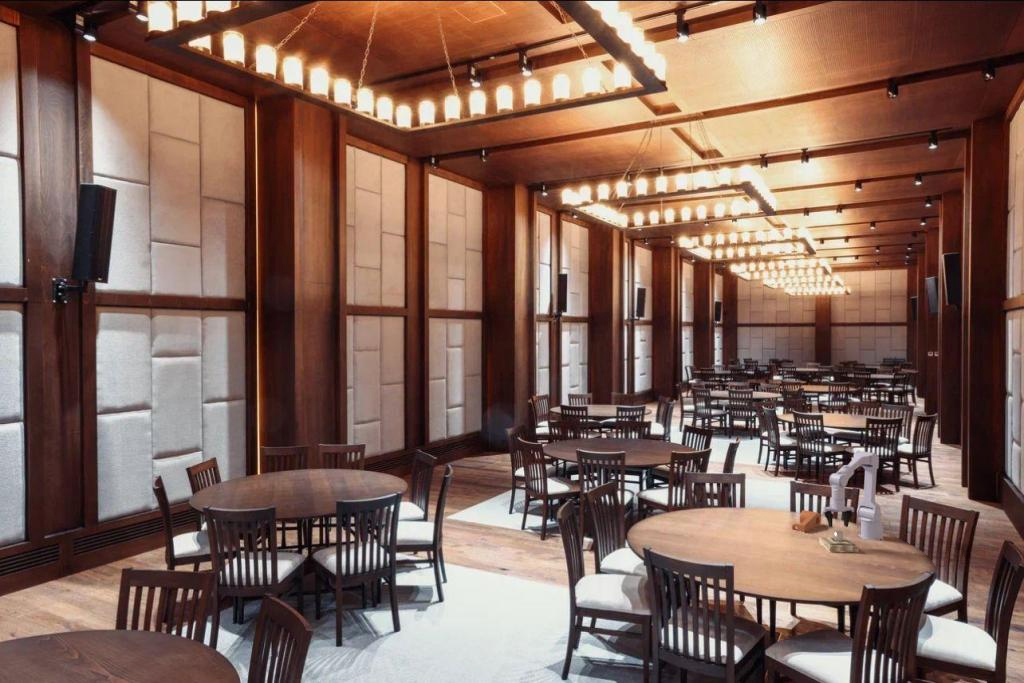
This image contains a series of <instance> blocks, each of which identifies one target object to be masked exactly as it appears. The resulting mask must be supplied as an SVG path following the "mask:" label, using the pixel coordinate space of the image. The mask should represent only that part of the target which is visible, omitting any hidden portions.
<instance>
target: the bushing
mask: <svg viewBox="0 0 1024 683" xmlns="http://www.w3.org/2000/svg"><path fill="white" fill-rule="evenodd" d="M833 538H834V542H843V538H844V532H843V531H841V530H834V531H833Z"/></svg>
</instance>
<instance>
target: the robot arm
mask: <svg viewBox="0 0 1024 683" xmlns="http://www.w3.org/2000/svg"><path fill="white" fill-rule="evenodd" d="M879 459H880V457H879V455H878V453H876V452H869V451H861V450H856V451H855V452H854V453H853V458H852V459H851V461H850V462H849V463H848V464H846V465H845V464H844V465H843V466H842V467H841V468H840V469H838V471H837V472H835V473H834V472H833V473H831V474H830V475H829V479H828V482H829V485H830V488H831V506H824V507H822V512H823V514H824V516H825V517H826V521H827V523H828V524H827V525H828V526H829V527H830V528H833V520H834V514H833V512H835V513H836V512H837V513H838V512H840V513H841V512H842V514H843V525H844V527H846V528H848V527H849V523H850V520H851V518H852V516H853V515H854V512H855V507H853V506H845V505H846V499H845V497H846V496H845V495H846V490H845V489H846V488H845V487H846V486H847V485H848V481H849V479H850V478H851V477H852V476H853V475H854V473H855V471H856V469H857V468H859V467H862V468H863V469H864V481H863V482H864V484H863V500H862V501H860V502H859V503H858V507H857V508H856V509H857V510H856V515H857V517H858V518H859V520H860V534H859V533H858V534H857V535H858V536H859V537H860V538H862V539H863V540H869V539H878V541H884V526H883V522H882V521H881V518H882V510H881V505H879V504H878V503H877V502H876V486H877V471H878V469H879V466H880V465H879V464H880V463H879V462H880V460H879ZM880 539H882V540H880Z"/></svg>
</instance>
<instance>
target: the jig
mask: <svg viewBox="0 0 1024 683" xmlns="http://www.w3.org/2000/svg"><path fill="white" fill-rule="evenodd" d="M818 541H819V542H818V544H819V543H820V544H819V545H821V546H822V547H823V546H824V547H825V548H826V551H828V552H829V553H842V552H854V553H853V554H859V546H858V544H856V543H854V542H853V541H852V540H850V539H849V538H848V537H843V542H834V537H829V536H828V537H823V536H822V537H820V536H819V537H818ZM824 547H823V548H824ZM825 548H824V549H825Z"/></svg>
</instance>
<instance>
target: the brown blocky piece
mask: <svg viewBox="0 0 1024 683" xmlns="http://www.w3.org/2000/svg"><path fill="white" fill-rule="evenodd" d="M821 523H822V515H821V513H820V512H816V511H809V510H805V509H803V510H801V512H800V513H799V523H794V524H792V525H791V530H792V531H793V530H796V531H795V532H798V531H801V532H800V533H802V532H805V533H807V532H809V531H808V530H810V531H812V530H814V529H816V528H815V527H817V528H819V527H820V526H821ZM818 526H819V527H818ZM813 528H814V529H813ZM811 529H812V530H811ZM806 531H807V532H806Z"/></svg>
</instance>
